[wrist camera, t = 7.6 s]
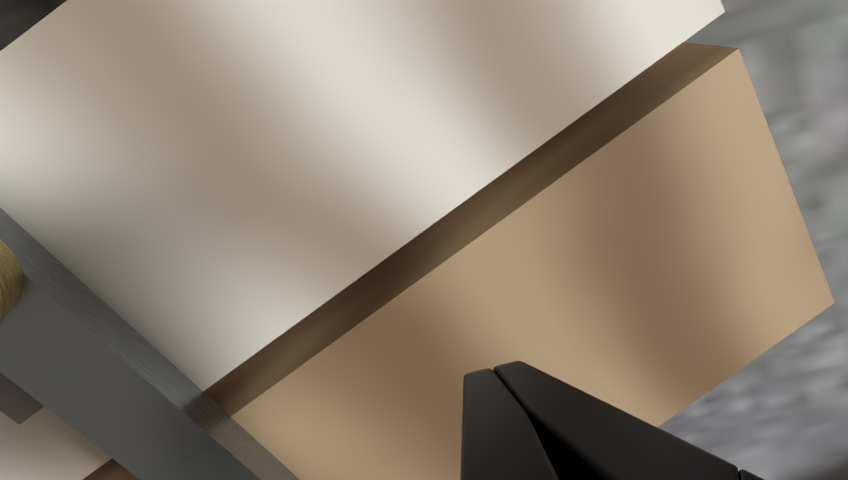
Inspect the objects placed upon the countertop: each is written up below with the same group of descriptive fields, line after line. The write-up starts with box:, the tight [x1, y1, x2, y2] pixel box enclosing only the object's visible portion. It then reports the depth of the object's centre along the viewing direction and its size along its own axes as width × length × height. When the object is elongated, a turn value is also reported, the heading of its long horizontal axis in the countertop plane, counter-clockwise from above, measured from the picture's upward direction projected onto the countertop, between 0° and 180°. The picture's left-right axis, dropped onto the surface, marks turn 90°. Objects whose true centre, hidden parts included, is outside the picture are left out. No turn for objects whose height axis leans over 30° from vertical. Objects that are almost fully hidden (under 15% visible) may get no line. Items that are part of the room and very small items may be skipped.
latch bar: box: [0, 208, 300, 480], centre depth 13 cm, size 13×3×4 cm, turn 33°
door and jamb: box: [0, 0, 835, 480], centre depth 17 cm, size 23×19×7 cm
